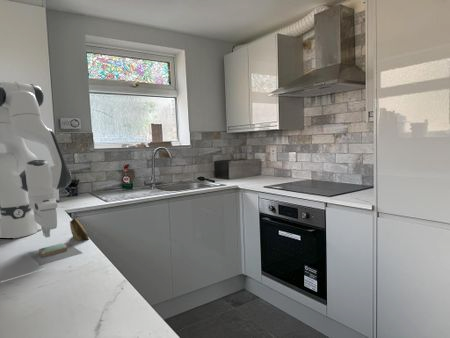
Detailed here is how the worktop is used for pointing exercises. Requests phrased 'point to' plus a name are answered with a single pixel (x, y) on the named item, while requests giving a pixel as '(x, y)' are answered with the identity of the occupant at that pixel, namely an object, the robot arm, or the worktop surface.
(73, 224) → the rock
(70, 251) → the mat
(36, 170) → the robot arm
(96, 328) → the worktop surface
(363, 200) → the worktop surface
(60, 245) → the coaster
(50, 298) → the worktop surface
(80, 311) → the worktop surface
